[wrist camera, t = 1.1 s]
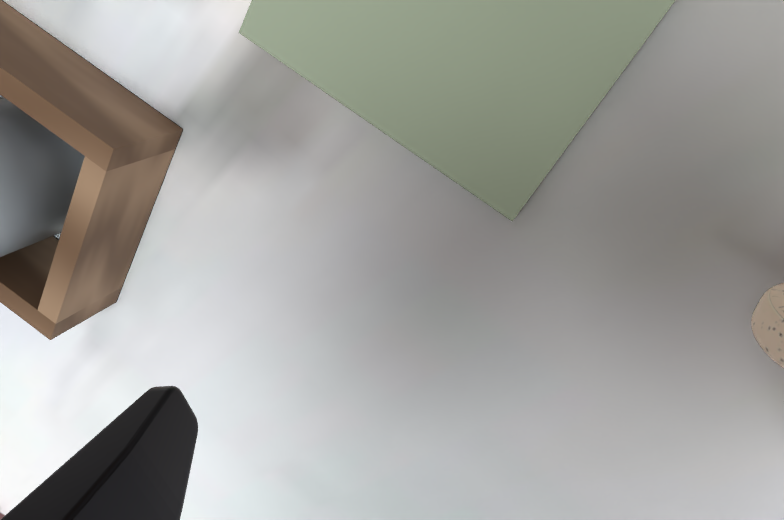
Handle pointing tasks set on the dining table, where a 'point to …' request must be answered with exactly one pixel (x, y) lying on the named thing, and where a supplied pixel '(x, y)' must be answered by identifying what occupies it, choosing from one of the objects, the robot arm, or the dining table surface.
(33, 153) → the parts canister
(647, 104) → the dining table surface
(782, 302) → the teacup with lid
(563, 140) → the rubber mat
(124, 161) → the walnut collar
